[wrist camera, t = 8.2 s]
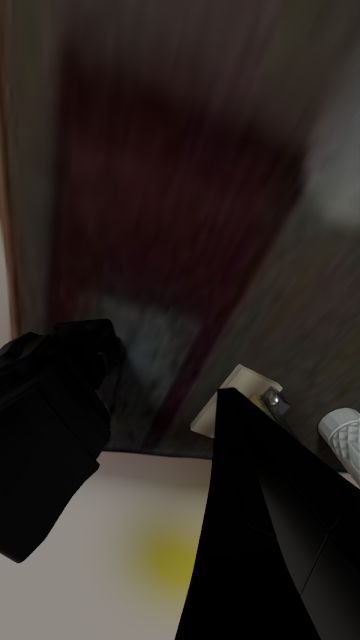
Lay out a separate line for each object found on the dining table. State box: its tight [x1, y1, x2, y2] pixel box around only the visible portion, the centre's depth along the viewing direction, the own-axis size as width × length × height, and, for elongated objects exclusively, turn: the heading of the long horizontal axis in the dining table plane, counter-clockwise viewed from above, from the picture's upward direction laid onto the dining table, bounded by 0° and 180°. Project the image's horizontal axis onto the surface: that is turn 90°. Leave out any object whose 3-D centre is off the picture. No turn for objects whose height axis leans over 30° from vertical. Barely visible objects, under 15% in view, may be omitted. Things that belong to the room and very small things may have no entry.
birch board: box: [190, 364, 283, 438], centre depth 26 cm, size 7×13×1 cm, turn 150°
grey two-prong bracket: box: [260, 386, 300, 442], centre depth 23 cm, size 2×12×6 cm, turn 150°
